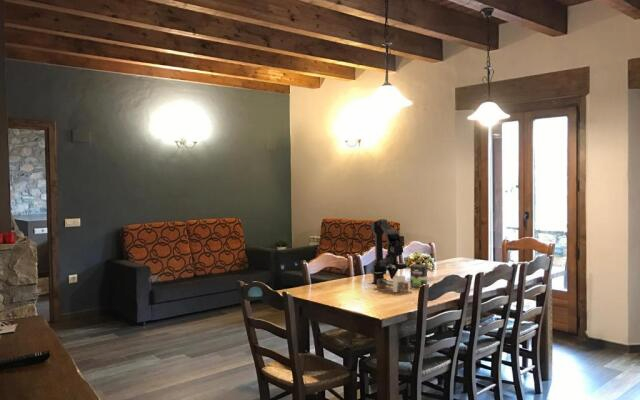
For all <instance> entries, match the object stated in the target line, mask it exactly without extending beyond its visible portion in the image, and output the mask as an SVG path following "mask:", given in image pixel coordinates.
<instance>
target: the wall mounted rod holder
mask: <svg viewBox="0 0 640 400" xmlns="http://www.w3.org/2000/svg"><path fill="white" fill-rule="evenodd" d="M383 279H384V280H387V278H385V277H384V278H383ZM381 280H382V279H377V284H376V287H374V288H373V290H374V291H378V292H384V293H387V294H392V295H395V296H396V295H397V296H404V295H409V293H410V294H412V293H413V292H412V291H409V283H408V282H405V283H400V284H399V292H395V293H392V292H394V291H393V287H391V286H387V285H384V284H381ZM403 285H405V286H406V287H403ZM404 288H405V289H404Z"/></svg>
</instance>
